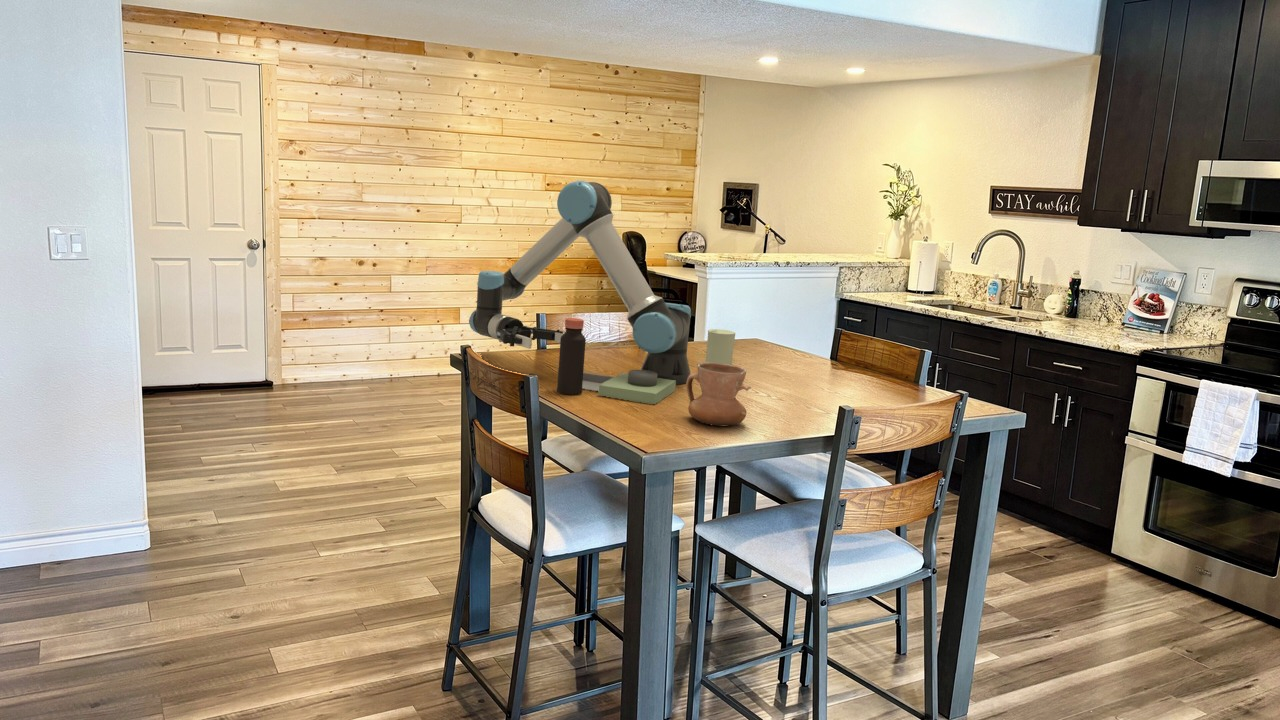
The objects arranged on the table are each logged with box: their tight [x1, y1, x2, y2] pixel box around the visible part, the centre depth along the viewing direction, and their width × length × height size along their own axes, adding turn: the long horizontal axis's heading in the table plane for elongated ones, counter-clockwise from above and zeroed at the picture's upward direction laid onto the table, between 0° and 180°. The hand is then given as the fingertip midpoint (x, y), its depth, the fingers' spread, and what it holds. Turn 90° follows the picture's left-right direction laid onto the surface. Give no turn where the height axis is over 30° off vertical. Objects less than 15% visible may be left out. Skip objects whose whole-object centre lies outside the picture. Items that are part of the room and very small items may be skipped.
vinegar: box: [556, 317, 587, 396], centre depth 248 cm, size 7×7×20 cm
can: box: [704, 328, 736, 366], centre depth 306 cm, size 9×9×12 cm
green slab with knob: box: [582, 369, 677, 405], centre depth 257 cm, size 20×28×6 cm
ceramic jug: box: [685, 362, 752, 426], centre depth 231 cm, size 18×14×14 cm
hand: (550, 342), depth 255 cm, fingers open, 13 cm apart
